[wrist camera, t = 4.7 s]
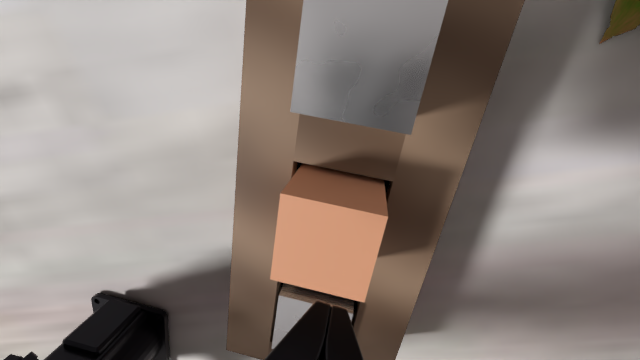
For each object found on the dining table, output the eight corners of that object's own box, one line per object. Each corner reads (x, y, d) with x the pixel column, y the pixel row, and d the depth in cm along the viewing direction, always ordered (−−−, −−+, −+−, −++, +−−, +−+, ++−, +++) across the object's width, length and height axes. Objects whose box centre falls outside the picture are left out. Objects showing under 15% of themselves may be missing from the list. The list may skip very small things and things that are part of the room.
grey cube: (344, 315, 20) (339, 367, 17) (288, 301, 21) (271, 348, 17) (356, 268, 19) (353, 314, 15) (295, 254, 19) (278, 295, 16)
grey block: (400, 117, 13) (411, 134, 9) (311, 100, 13) (290, 112, 10) (426, 14, 12) (450, -10, 8) (326, -1, 12) (307, -30, 8)
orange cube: (366, 249, 16) (364, 302, 12) (292, 233, 16) (270, 279, 12) (384, 180, 14) (388, 216, 11) (302, 163, 14) (280, 193, 11)
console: (381, 337, 22) (383, 392, 18) (250, 303, 22) (226, 349, 19) (494, -13, 13) (540, -44, 10) (282, -42, 14) (251, -81, 11)
